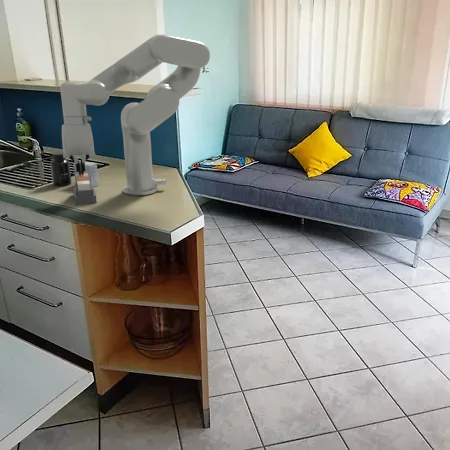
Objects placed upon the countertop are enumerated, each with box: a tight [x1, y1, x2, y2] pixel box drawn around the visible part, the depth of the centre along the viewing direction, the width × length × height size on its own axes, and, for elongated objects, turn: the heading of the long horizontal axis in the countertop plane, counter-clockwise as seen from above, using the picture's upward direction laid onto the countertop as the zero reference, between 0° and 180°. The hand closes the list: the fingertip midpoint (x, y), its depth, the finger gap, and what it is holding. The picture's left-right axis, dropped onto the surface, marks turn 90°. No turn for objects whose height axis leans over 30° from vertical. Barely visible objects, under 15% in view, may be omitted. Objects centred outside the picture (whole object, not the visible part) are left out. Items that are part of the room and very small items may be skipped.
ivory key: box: [77, 180, 91, 191], centre depth 161 cm, size 4×4×3 cm
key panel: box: [72, 182, 98, 206], centre depth 165 cm, size 7×12×4 cm, turn 19°
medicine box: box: [73, 160, 100, 188], centre depth 180 cm, size 8×4×9 cm, turn 66°
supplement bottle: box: [50, 151, 72, 187], centre depth 181 cm, size 7×7×12 cm
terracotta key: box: [76, 173, 89, 181], centre depth 166 cm, size 4×4×3 cm
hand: (81, 173), depth 165 cm, fingers closed
